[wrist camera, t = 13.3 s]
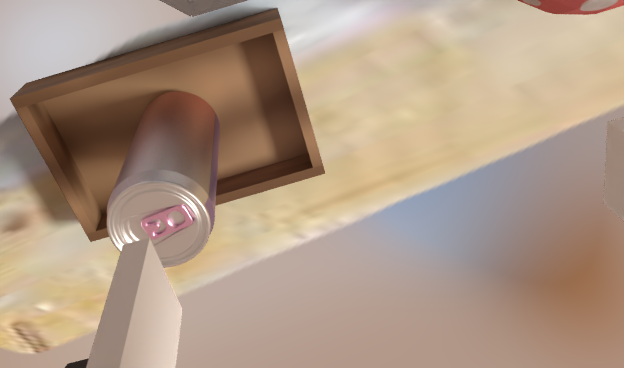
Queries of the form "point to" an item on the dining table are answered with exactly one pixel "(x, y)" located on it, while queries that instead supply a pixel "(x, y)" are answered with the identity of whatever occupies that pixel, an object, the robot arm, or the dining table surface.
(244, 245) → the dining table surface
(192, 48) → the crate
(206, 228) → the beverage can
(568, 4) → the decorative mushroom
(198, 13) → the collar
